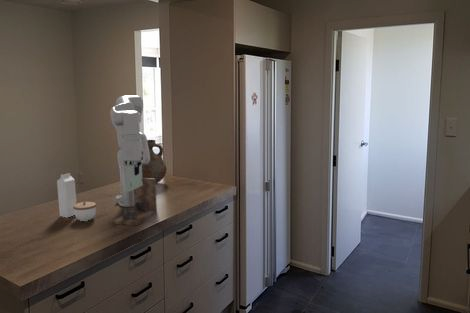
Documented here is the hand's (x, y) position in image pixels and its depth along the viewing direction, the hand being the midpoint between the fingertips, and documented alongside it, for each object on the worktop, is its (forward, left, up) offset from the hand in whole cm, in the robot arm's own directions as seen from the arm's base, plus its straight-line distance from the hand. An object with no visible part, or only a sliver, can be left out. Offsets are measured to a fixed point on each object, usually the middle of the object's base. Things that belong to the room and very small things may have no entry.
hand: (134, 174), depth 200 cm
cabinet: (0, 0, -22) cm, 22 cm away
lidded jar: (-23, -9, -23) cm, 33 cm away
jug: (-25, +66, -23) cm, 74 cm away
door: (0, 0, -7) cm, 7 cm away
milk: (-35, -6, -23) cm, 42 cm away
